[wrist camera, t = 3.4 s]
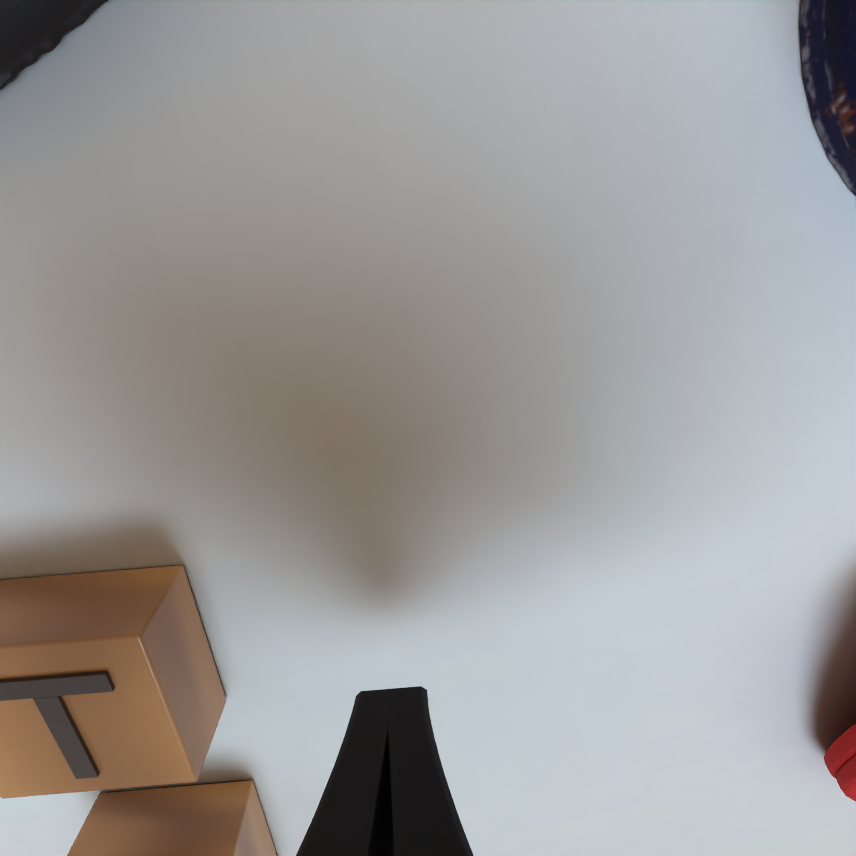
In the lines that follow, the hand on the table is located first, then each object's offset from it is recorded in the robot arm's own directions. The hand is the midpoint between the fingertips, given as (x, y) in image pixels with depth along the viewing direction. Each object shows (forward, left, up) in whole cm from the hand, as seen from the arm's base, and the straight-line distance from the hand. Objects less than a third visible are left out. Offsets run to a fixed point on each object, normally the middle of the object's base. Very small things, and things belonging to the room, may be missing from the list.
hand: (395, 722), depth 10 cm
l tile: (-7, -8, -3) cm, 11 cm away
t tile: (-7, 0, -3) cm, 8 cm away
